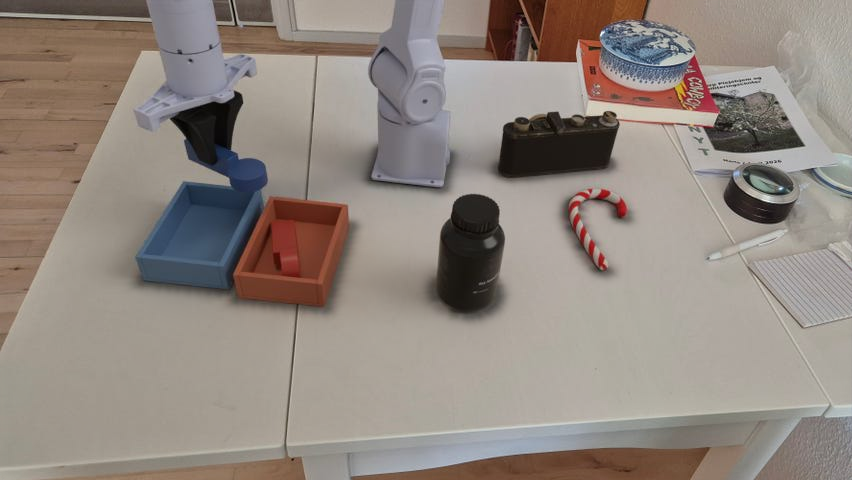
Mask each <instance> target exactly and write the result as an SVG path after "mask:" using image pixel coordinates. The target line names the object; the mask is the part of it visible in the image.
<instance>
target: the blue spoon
mask: <svg viewBox="0 0 852 480" xmlns="http://www.w3.org/2000/svg"><path fill="white" fill-rule="evenodd" d="M183 143H184V148H185V151H186V155H187V159H188V160H189V161H191V162H193V163H196V164H198V165H200V166H202V167H204V168H206V169H208V170H211V171H213V172H215V173H217V174H220V175H221V176H224V177H226V178H228V180H229V186H231V187H232V188H233V189H235V190H237V191H239V192H255V191H258V190H262V189H263V188H265V187H266V186H267V185H268V181H269V179H268V172H267V167H266V164H265V163H264V162H263V161H262V160H260V159H258V158H253V157H244V158H239V153H238V152H236V151H233V150H232V149H231V150H229V149H227V148H224V147H222V146H220V145H218V144H215V148H216V153H217V163H216V164H214V165H213V166H211V165H209V164H206V163H204V162H202V161H200V160H199V159H198V157H197V155H196V153H195V152H194V150H193V148H192V146H191V145H190V143H189V142H188V140H187V139H186V138H185V139H183Z"/></svg>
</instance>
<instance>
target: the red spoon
mask: <svg viewBox="0 0 852 480" xmlns="http://www.w3.org/2000/svg"><path fill="white" fill-rule="evenodd" d="M271 232H272V249H273V258H274V264H281V270H282V276H287V277H296V278H301V274H300V266H299V258H298V249H297V239H296V230H295V223H294V220H285V221H275V222H271Z"/></svg>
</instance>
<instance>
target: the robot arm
mask: <svg viewBox="0 0 852 480" xmlns="http://www.w3.org/2000/svg"><path fill="white" fill-rule="evenodd" d="M145 1H146V5H147V10H148V13H149V17H150V21H151V25H152V28H153V33H154V35H155V40H156V44H157V48H158V52H159V56H160V59H161V63H162V68H163V72H164V75H165V79H166V80H165V81H164V82H163V83H162V84H161V85H160V86H159V87H158V88H157V89H156V90H155V91H154V92H153V93H152V94H151V96H149V97H148V98H147V99H145V101H143V102H142V103H141V104H140V105H138V106H137V107H134V108H133V113H134V116H135V120H136V122H137V126H138V127H140V128H142V129H144V130H146V131H149V132H151V133H156V132H157V131H159V130H161V128H162V127H161V124H163V123H164V122H166V121H168V120H170V121H171V122H172V123H173V124H174V125H175V126H176V127H177V128H178V130H179V131H180V132H181V133H182V135H183V136H184V137H185V139H187V140H188V142H189V143H190V145H191V146H192V148H193V150H194V152H195V153H196V155H197V157H198V159H199V160H200V161H202V162H204V163H206V164H209V165H211V166H213V165H214V164H216V163H217V153H216V148H215V144H218V145H220V146H222V147H224V148H227V149H229V150H231V151H232V145H233V137H234V129H235V125H236V122H237V118H238V115H239V113H240V110H241V109H242V107H243V105H244V97H243V94H242V93H241V92H238V90H237V91H236V90H235V89H233V88H234V87H235V86H236V85H237V83H238V82H239V81H240V80H243V78H245V77H248V78H253V77H255V76H257V75H258V69H257V63H256V58H255V57H252V56H250V55H248V54H244V53H242V52H241V53H239V54H236V55H234V56H231V57H227V58H224V53H223V49H222V43H221V38H220V33H219V28H218V27H219V26H218V23H217V22H218V21H217V17H216V12H215V7H214V6H215V5H214V2H213V1H214V0H145ZM445 1H446V0H395V1H394V7H393V13H392V20H391V26H390V27H389V28H388V29H387V30H384V32H382V33H381V34H380V35H379V39H378V44H377V48H376V50H375V52H374V53H373V55H372V57H371V58H370V60H369V63H368V67H367V74H368V78H369V81H370V83H371V84H372V85H373V86H374V87H375V88H376V89H377V103H376V105H377V150H378V151H377V155H376V159H375V162H374V166H373V168H372V173H371V180H372V181H380V182H388V183H389V182H390V183H396V184H405V185H407V184H408V185H415V186H416V185H417V186H424V187H434V188H442V187H444V183H445V179H446V172H447V165H449V164H450V160H451V159H450V157H451V150H449V148H450V136H451V135H450V134H451V119H452V115H451V114H452V112H451V111H450V110H447V109H443V108H444V106H445V103H446V100H447V89H446V85H445V72H446V64H445V60H444V58H443V55H442V52H441V49H440V45H439V43H438V36H439V31H440V27H441V21H442V16H443V12H444V11H443V10H444V5H445Z"/></svg>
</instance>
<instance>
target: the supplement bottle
mask: <svg viewBox="0 0 852 480" xmlns="http://www.w3.org/2000/svg"><path fill="white" fill-rule="evenodd" d="M500 211H501V210H500V206H499V205H498V202H496V201H495V200H494V199H493V198H491V197H489V196H486V195H484V194H480V193H468V194H463V195H461V196H458V198H455V200H454V201H453V203H452V208H451V213H450V217H449V218H448V219H447V220H446V221H445V222H444V224H442V227H441V229H440V233H439V242H438V255H437V256H438V258H437V268H436V281H435V289H436V292H437V296H438V298H439V299H440V300H441V301H442V302H443V303H444V304H445V305H447V306H448V307H450V308H452V309H454V310H457V311H462V312H475V311H479V310H481V309H484V308H486V307H488V306H489V305H490V304H491V303H492V302H493V301H494V299H495V298H496V295H497V290H498V286H499V280H500V273H501V267H502V262H503V256H504V250H505V244H506V235H505V232H504V230H503V227H502V226H501V225H500Z"/></svg>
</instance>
